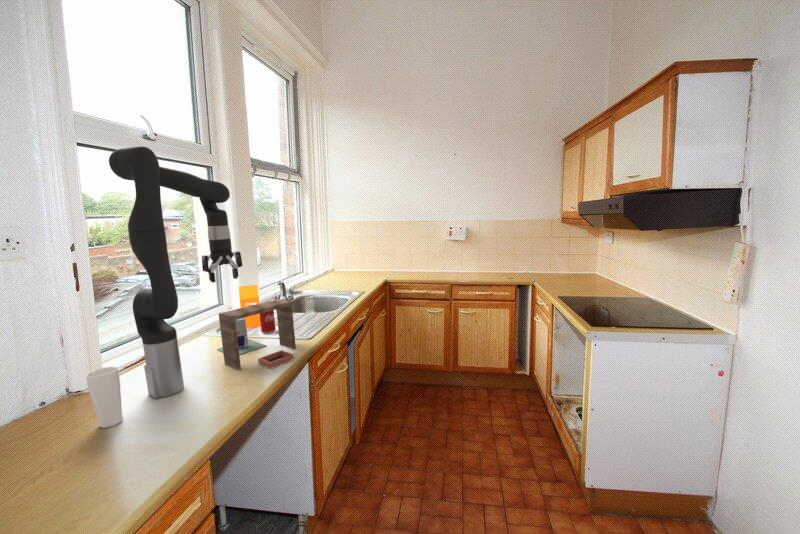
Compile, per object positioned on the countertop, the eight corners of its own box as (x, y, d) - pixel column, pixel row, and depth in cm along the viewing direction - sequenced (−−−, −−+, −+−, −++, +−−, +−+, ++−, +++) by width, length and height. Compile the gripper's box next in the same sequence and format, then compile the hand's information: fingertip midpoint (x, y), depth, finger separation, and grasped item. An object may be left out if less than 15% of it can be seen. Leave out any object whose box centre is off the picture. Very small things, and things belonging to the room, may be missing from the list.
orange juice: (262, 325, 191) (257, 286, 187) (242, 328, 187) (238, 288, 184) (261, 321, 198) (257, 283, 195) (242, 324, 195) (238, 285, 192)
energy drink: (231, 348, 159) (228, 320, 157) (242, 344, 164) (238, 316, 162) (240, 350, 157) (237, 321, 155) (251, 345, 161) (248, 317, 160)
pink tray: (270, 368, 138) (269, 363, 137) (258, 363, 143) (257, 358, 142) (294, 359, 145) (293, 354, 145) (281, 355, 150) (281, 350, 150)
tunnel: (236, 369, 138) (230, 317, 135) (224, 364, 144) (218, 313, 141) (295, 348, 157) (291, 301, 154) (283, 344, 163) (278, 298, 160)
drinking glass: (121, 414, 111) (113, 364, 108) (129, 421, 106) (121, 370, 104) (92, 425, 105) (83, 373, 103) (99, 433, 101) (89, 379, 99)
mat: (233, 357, 151) (233, 356, 150) (217, 349, 159) (216, 349, 159) (266, 346, 161) (266, 345, 161) (248, 340, 170) (248, 339, 170)
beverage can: (271, 334, 176) (268, 309, 174) (258, 334, 177) (256, 309, 175) (278, 330, 182) (275, 305, 180) (266, 330, 183) (263, 305, 181)
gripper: (204, 240, 138) (210, 284, 140) (242, 236, 148) (247, 278, 151) (195, 239, 142) (201, 282, 145) (233, 236, 153) (237, 276, 156)
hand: (224, 280), depth 148 cm, fingers open, 8 cm apart
